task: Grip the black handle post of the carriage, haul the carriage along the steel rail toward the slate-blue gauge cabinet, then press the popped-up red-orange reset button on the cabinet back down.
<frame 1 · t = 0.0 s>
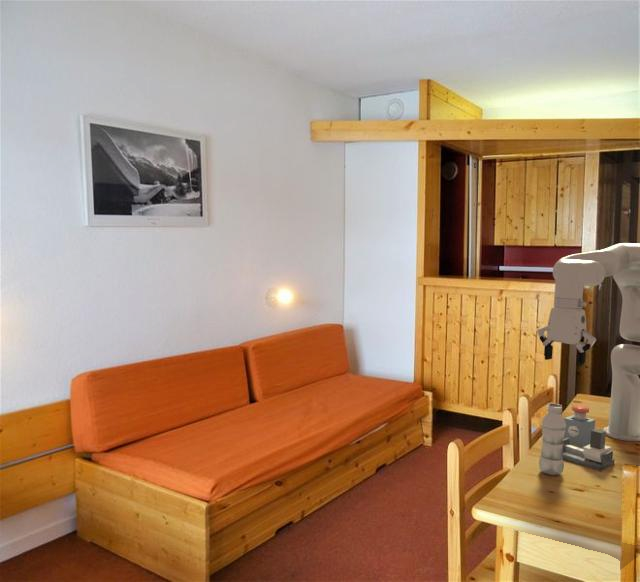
hand: (563, 362, 174), 31 cm above the table, tool pointing down, fingers open, 9 cm apart
gauge cabinet: (578, 442, 198), on the table
plastic bottle: (550, 474, 171), on the table
carriage: (597, 444, 179), point 6 cm above the table, slide at 0.0 cm
track: (584, 460, 182), on the table
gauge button: (580, 415, 197), point 9 cm above the table, slide at 2.5 cm
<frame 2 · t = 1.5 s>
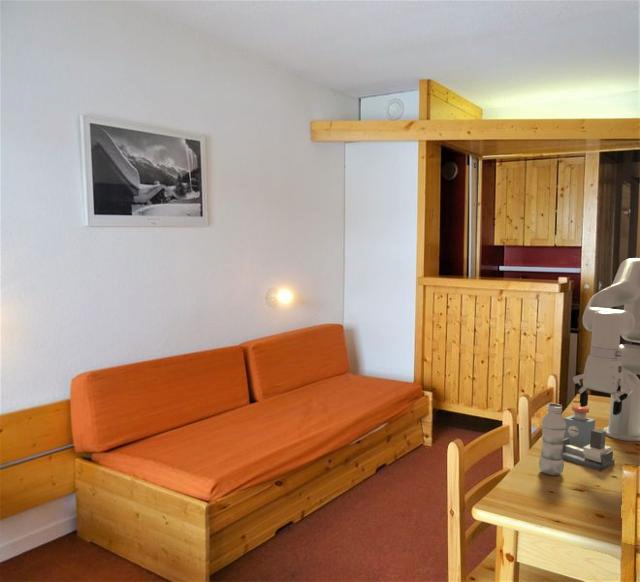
hand: (599, 410, 177), 17 cm above the table, tool pointing down, fingers open, 9 cm apart
nothing on the table moved.
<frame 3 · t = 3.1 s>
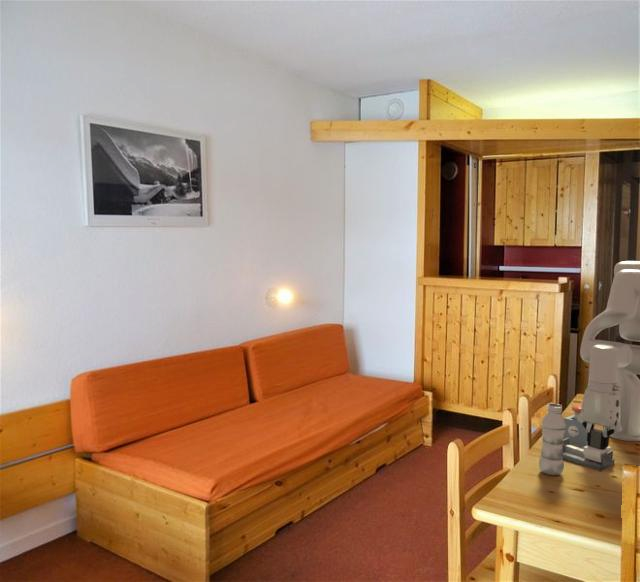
hand: (597, 446, 179), 6 cm above the table, tool pointing down, fingers closed on carriage, 3 cm apart
carriage: (597, 444, 179), point 6 cm above the table, slide at 0.0 cm, touching gripper
everything else where it was.
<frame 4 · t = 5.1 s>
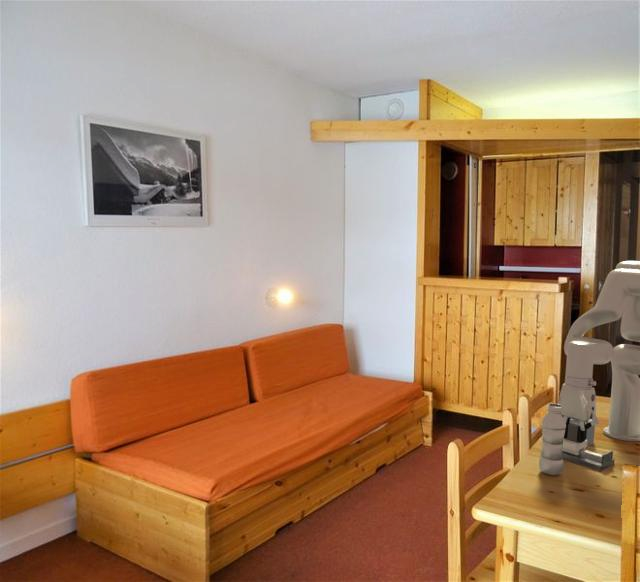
hand: (574, 439, 184), 6 cm above the table, tool pointing down, fingers open, 4 cm apart
carriage: (574, 437, 184), point 6 cm above the table, slide at 7.2 cm
everything else where it was.
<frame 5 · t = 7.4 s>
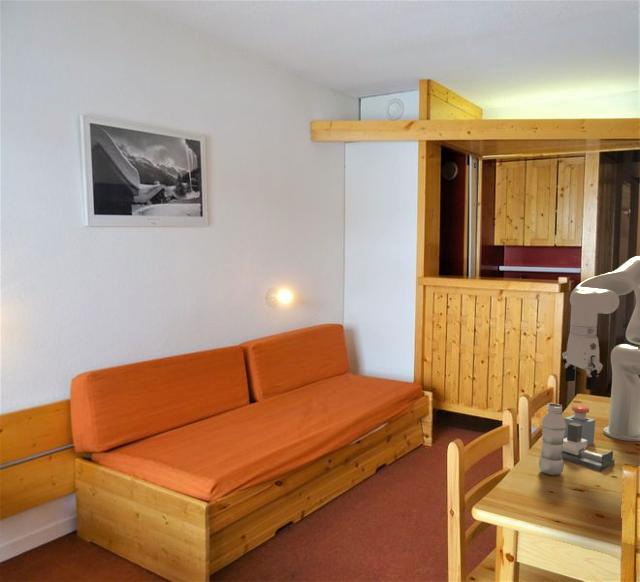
hand: (580, 385, 186), 22 cm above the table, tool pointing down, fingers open, 9 cm apart
nothing on the table moved.
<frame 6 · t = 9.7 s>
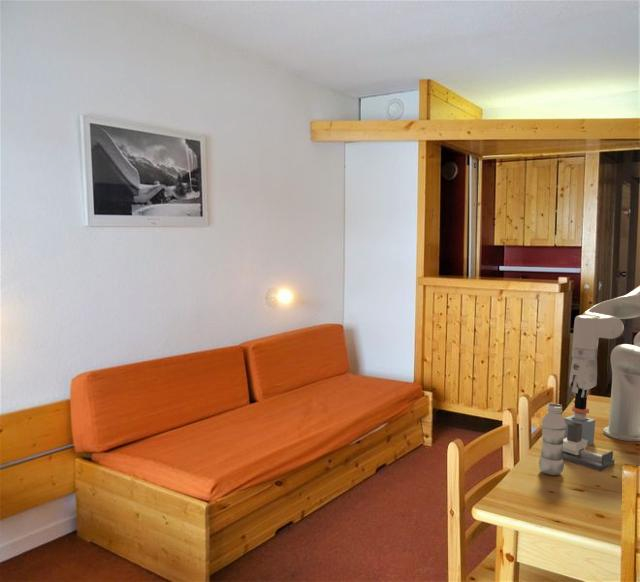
hand: (580, 408, 197), 12 cm above the table, tool pointing down, fingers closed
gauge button: (580, 415, 197), point 9 cm above the table, slide at 2.3 cm, touching gripper
everything else where it was.
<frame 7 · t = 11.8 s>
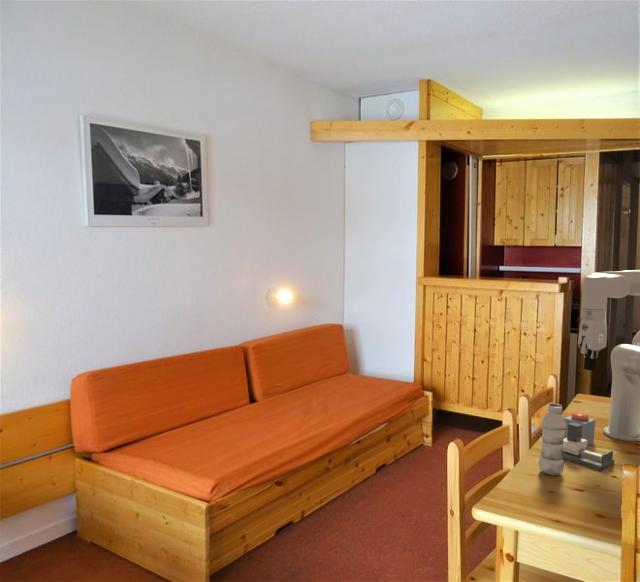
hand: (589, 369, 194), 25 cm above the table, tool pointing down, fingers closed
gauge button: (579, 421, 197), point 7 cm above the table, slide at 0.2 cm
everything else where it was.
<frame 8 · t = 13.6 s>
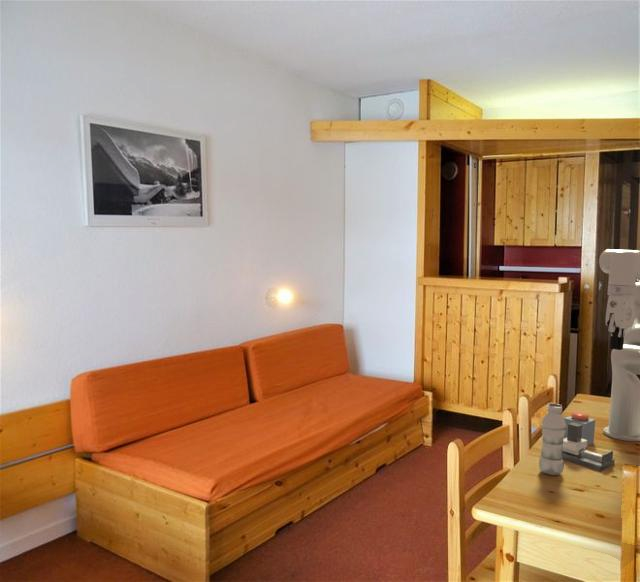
hand: (616, 349, 187), 33 cm above the table, tool pointing down, fingers closed
nothing on the table moved.
at the end: carriage slide at 7.2 cm; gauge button slide at 0.2 cm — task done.
